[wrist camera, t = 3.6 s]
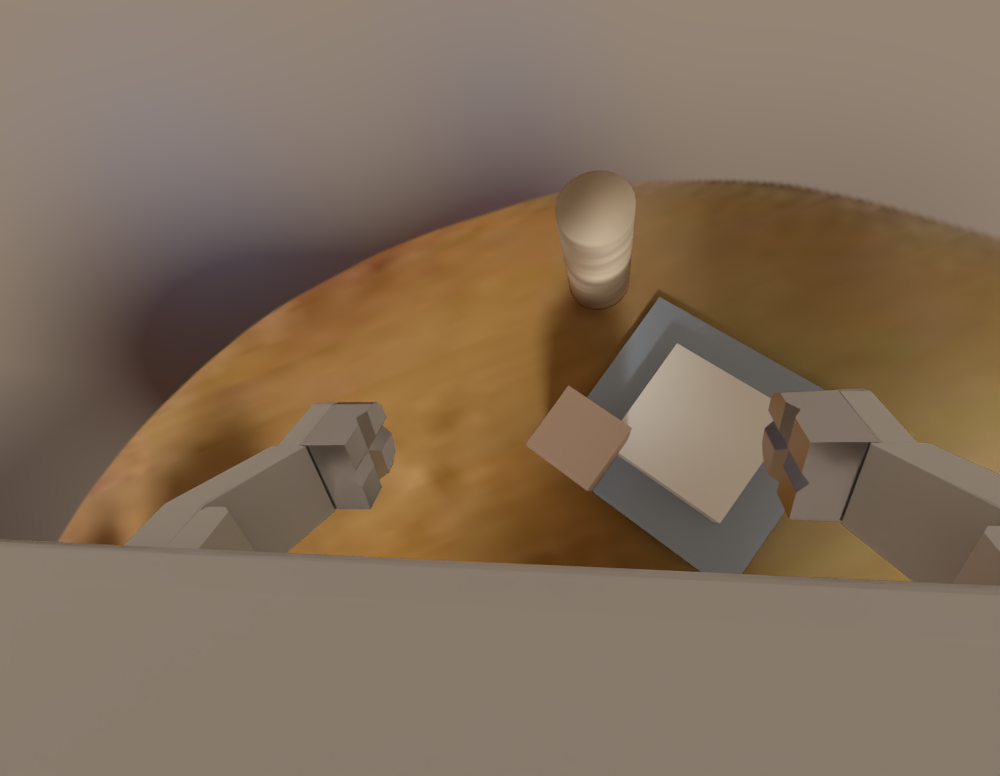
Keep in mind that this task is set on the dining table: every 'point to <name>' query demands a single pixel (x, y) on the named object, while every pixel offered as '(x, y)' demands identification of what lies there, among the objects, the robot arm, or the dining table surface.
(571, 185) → the birch column
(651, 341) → the build base
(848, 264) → the dining table surface
